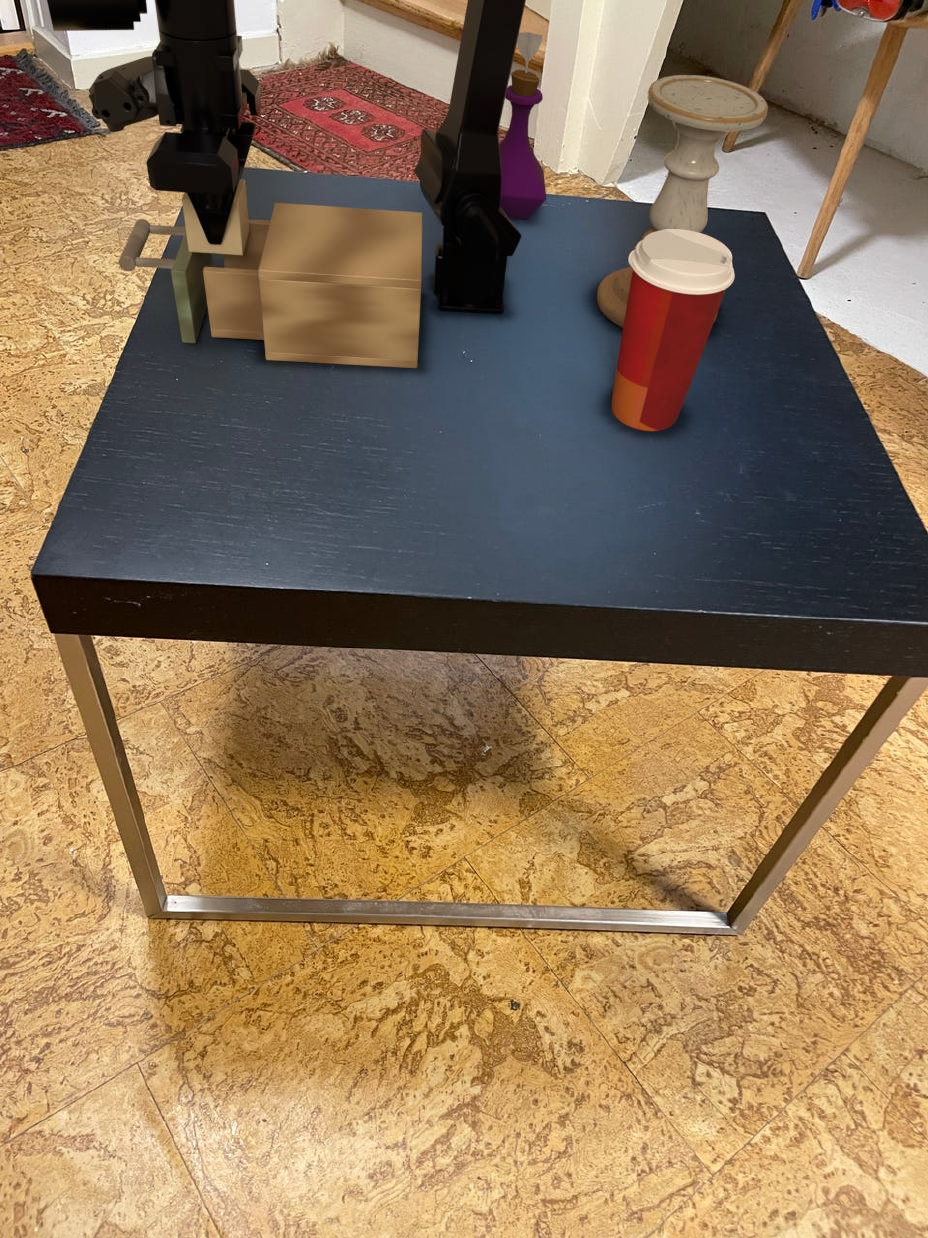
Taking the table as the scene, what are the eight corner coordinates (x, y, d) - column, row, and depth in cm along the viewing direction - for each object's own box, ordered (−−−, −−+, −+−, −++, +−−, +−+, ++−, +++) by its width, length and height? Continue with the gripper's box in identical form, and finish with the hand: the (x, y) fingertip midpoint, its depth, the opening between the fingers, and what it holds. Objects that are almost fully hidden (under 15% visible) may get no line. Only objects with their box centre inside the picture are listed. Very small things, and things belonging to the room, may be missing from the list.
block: (249, 230, 85) (245, 178, 82) (242, 255, 82) (237, 202, 79) (197, 227, 85) (190, 174, 81) (188, 251, 82) (181, 198, 78)
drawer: (125, 339, 84) (110, 267, 79) (151, 275, 92) (139, 205, 87) (323, 350, 85) (321, 280, 80) (332, 286, 93) (330, 218, 88)
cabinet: (265, 359, 85) (258, 269, 79) (280, 288, 94) (274, 202, 87) (417, 368, 86) (421, 280, 80) (418, 297, 95) (422, 212, 88)
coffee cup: (697, 398, 87) (746, 239, 76) (681, 449, 81) (731, 286, 70) (608, 375, 88) (643, 216, 77) (586, 423, 83) (622, 260, 72)
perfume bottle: (542, 227, 107) (568, 50, 94) (476, 222, 107) (492, 43, 93) (539, 198, 112) (563, 25, 99) (476, 192, 112) (492, 19, 98)
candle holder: (737, 310, 98) (804, 100, 83) (676, 355, 91) (737, 136, 76) (637, 265, 103) (684, 59, 88) (572, 305, 96) (610, 90, 81)
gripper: (115, -19, 77) (146, 176, 88) (53, 62, 64) (99, 277, 76) (254, -6, 78) (267, 185, 89) (220, 75, 65) (241, 286, 77)
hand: (219, 229), depth 83 cm, fingers closed on block, 5 cm apart
